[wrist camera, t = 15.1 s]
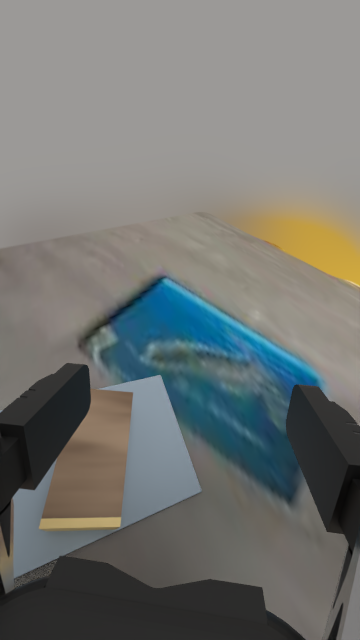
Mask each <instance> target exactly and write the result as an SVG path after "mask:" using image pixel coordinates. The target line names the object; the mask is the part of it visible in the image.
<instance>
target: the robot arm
mask: <svg viewBox="0 0 360 640" xmlns="http://www.w3.org/2000/svg"><path fill="white" fill-rule="evenodd" d="M90 404H91V391H90V377H89V368H88V366H87V365H84V364H73V363H67V364H65V365H64V366H63V367H62V368H60V369H59V370H58V371H57V372H56V373H55V374H51V375H49V376H47V377H45V378H43V379H41V380H39V381H37V382H36V383H35V384H34V385H33V386H31V387H30V388H29V390H28V391H25V392H24V393H23V394H22V395H21V396H20V398H17V399H16V400H15V401H13V402H12V403H11V404H10V405H9V406H7V407H6V408H5V409H4V410H3V411H1V412H0V640H305V639H304V638H303V637H302V636H301V635H300V634H299V633H298V632H297V631H296V630H294V629H293V628H292V627H291V626H290V625H289V624H287V623H286V622H284V621H283V620H282V619H280V618H279V617H277V616H276V615H274V614H273V613H271V612H269V611H267V610H266V609H265V602H264V596H263V590H262V587H256V586H250V585H243V584H237V583H231V582H224V581H218V580H212V579H208V580H203V581H197V582H192V583H186V584H181V585H176V586H170V587H165V588H152V587H150V586H148V585H146V584H144V583H142V582H141V581H139V580H137V579H135V578H133V577H131V576H130V575H128V574H126V573H124V572H122V571H120V570H119V569H117V568H115V567H113V566H111V565H109V564H108V563H103V562H97V561H91V560H84V559H78V558H71V557H65V556H59V558H58V560H57V562H56V564H55V566H54V569H53V571H52V573H51V575H50V576H46V577H42V578H39V579H36V580H33V581H30V582H28V583H26V584H23V585H21V586H19V587H17V588H15V582H14V569H13V549H14V502H13V496H14V495H15V494H16V492H17V491H18V490H19V488H20V489H27V490H34V491H35V489H36V488H37V486H38V485H39V484H40V482H41V481H42V479H43V478H44V476H45V475H46V473H47V472H48V470H49V469H50V468H51V466H52V465H53V463H54V462H55V460H56V459H57V457H58V456H59V454H60V453H61V452H62V450H63V449H64V447H65V446H66V444H67V443H68V441H69V440H70V438H71V437H72V436H73V434H74V433H75V431H76V430H77V428H78V427H79V425H80V424H81V422H82V421H83V420H84V418H85V417H86V415H87V413H88V411H89V408H90ZM286 430H287V435H288V438H289V441H290V443H291V446H292V448H293V450H294V453H295V455H296V458H297V460H298V463H299V465H300V467H301V470H302V472H303V475H304V477H305V479H306V482H307V484H308V487H309V489H310V492H311V494H312V496H313V499H314V501H315V504H316V506H317V509H318V511H319V513H320V516H321V518H322V521H323V523H324V525H325V528H326V530H327V532H332V533H340V534H344V535H345V537H346V539H347V541H348V546H347V549H346V552H345V556H344V560H343V563H342V567H341V571H340V575H339V579H338V583H337V586H336V590H335V594H334V598H333V602H332V606H331V609H330V613H329V617H328V621H327V624H326V628H325V631H324V634H323V637H322V640H360V426H359V425H357V423H356V421H355V420H354V419H353V418H352V417H351V415H350V414H349V413H348V412H347V411H346V410H344V409H343V408H342V407H340V406H339V405H338V404H336V403H335V402H331V401H329V400H328V399H327V397H326V396H325V395H324V393H323V392H322V391H321V389H320V388H319V387H317V386H307V385H295V386H294V387H293V391H292V395H291V400H290V405H289V409H288V414H287V419H286Z"/></svg>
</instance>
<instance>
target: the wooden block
mask: <svg viewBox="0 0 360 640" xmlns="http://www.w3.org/2000/svg"><path fill="white" fill-rule="evenodd" d="M90 391H91V404H90V408H89V411H88V413H87V415H86V417H85V418H84V420H83V421H82V422H81V424H80V425H79V427H78V428H77V430H76V431H75V433H74V434H73V436H72V437H71V438H70V440H69V441H68V443H67V444H66V446H65V447H64V449H63V450H62V452H61V453H60V454H59V456H58V457H57V460H56V464H55V468H54V472H53V476H52V479H51V483H50V487H49V491H48V495H47V499H46V502H45V506H44V510H43V514H42V518H41V522H40V525H39V529H41V530H44V531H78V530H114V529H117V528H119V527H120V524H121V513H122V503H123V493H124V483H125V472H126V462H127V452H128V442H129V431H130V421H131V411H132V401H133V392H123V391H112V390H100V389H90Z"/></svg>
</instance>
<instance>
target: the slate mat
mask: <svg viewBox="0 0 360 640" xmlns="http://www.w3.org/2000/svg"><path fill="white" fill-rule="evenodd" d="M100 390H112V391H123V392H133V401H132V411H131V421H130V431H129V442H128V452H127V462H126V472H125V483H124V493H123V503H122V513H121V524H120V527H119V528H117V529H114V530H78V531H44V530H41V529H39V525H40V522H41V518H42V514H43V510H44V506H45V502H46V499H47V495H48V491H49V487H50V483H51V479H52V476H53V472H54V468H55V464H56V460H57V459H56V460H55V462H54V463H53V465H52V466H51V468H50V469H49V470H48V472H47V473H46V475H45V476H44V478H43V479H42V481H41V482H40V484H39V485H38V486H37V488H36V489H35V491H34V490H27V489H20V488H19V490H18V491H17V492H16V494H15V495H14V496H13V502H14V549H13V569H14V578H16V577H18V576H21V575H23V574H25V573H27V572H29V571H31V570H34V569H36V568H38V567H40V566H42V565H44V564H46V563H49V562H51V561H53V560H55V559H57V558H59V556H64V555H66V554H68V553H70V552H72V551H74V550H77V549H79V548H81V547H83V546H85V545H87V544H90V543H92V542H94V541H96V540H98V539H100V538H102V537H105V536H107V535H109V534H111V533H113V532H115V531H118V530H120V529H122V528H124V527H126V526H128V525H130V524H133V523H135V522H137V521H139V520H141V519H143V518H146V517H148V516H150V515H152V514H154V513H156V512H158V511H161V510H163V509H165V508H167V507H169V506H171V505H174V504H176V503H178V502H180V501H182V500H184V499H186V498H189V497H191V496H193V495H195V494H197V493H199V492H201V491H202V490H201V487H200V484H199V482H198V479H197V476H196V473H195V470H194V468H193V465H192V462H191V459H190V456H189V453H188V451H187V448H186V445H185V442H184V439H183V437H182V434H181V431H180V428H179V425H178V423H177V420H176V417H175V414H174V411H173V409H172V406H171V403H170V400H169V397H168V395H167V392H166V389H165V386H164V383H163V380H162V378H161V375H158V376H154V377H149V378H145V379H140V380H136V381H131V382H127V383H122V384H118V385H113V386H109V387H104V388H100ZM1 411H3V410H1ZM1 411H0V412H1Z"/></svg>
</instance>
